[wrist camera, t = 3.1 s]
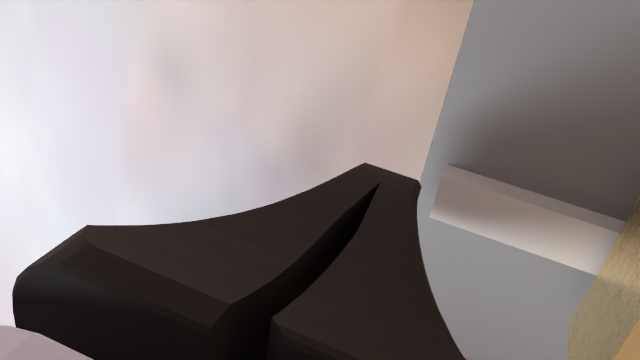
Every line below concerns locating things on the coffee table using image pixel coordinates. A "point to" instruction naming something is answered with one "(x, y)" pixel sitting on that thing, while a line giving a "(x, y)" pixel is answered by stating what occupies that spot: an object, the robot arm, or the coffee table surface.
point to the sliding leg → (611, 303)
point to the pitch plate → (530, 170)
